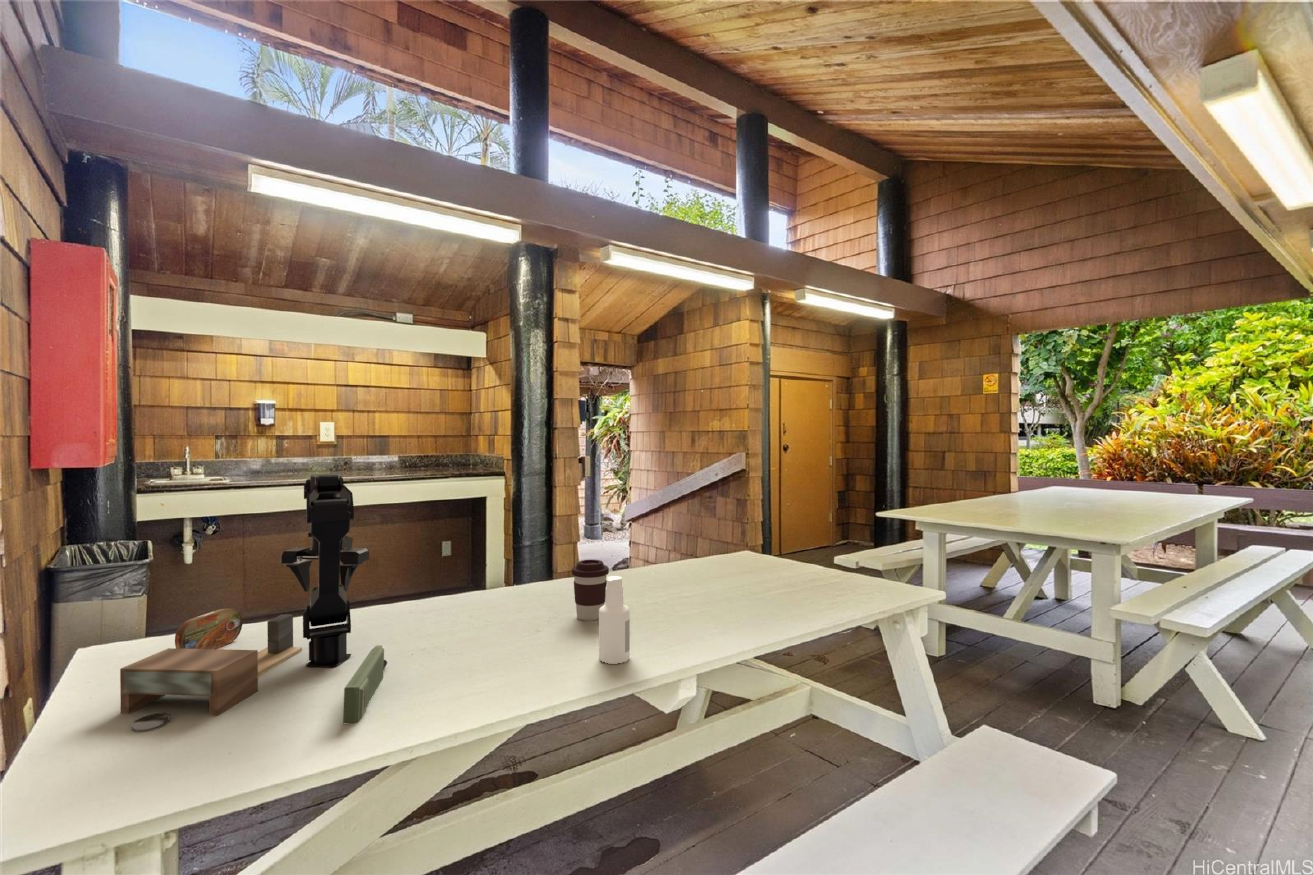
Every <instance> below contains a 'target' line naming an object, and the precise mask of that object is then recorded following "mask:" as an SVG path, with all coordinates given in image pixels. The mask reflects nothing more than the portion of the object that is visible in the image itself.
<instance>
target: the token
mask: <svg viewBox="0 0 1313 875" xmlns="http://www.w3.org/2000/svg"><path fill="white" fill-rule="evenodd" d="M170 717H171V716H170V714H169V713H167V712H158V713H157V712H156V713H151V714H147V715H145V716H141V717H138V719H135V720H134V721H133V722H131V731H132V732H133V733H134V732H135V733H145V732H150V731H154V730H157V729H160V728H162V727H165V726H166V725H168V724H169V723H170V722H171V720H170V719H171V718H170Z"/></svg>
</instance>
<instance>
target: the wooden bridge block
mask: <svg viewBox="0 0 1313 875" xmlns="http://www.w3.org/2000/svg"><path fill="white" fill-rule="evenodd" d="M258 652H259V650H258V649H227V648H226V649H225V648H223V649H219V648H218V649H178V648H176V647H175V648H173V647H172V648H171V647H170V648H169V647H168V648H165V649H164V650H161V651H159V652H156V653H153V654H152V655H150V656H147V657H145V658H143V659H140V660H138V661H135V662H133V663H131V664H128V665H126V666H123V667H121V668H119V669H120V672H119V673H120V674H119V676H120V678H119V680H120V682H119V684H120V685H119V686H120V687H119V688H120V695H119V696H120V714H131V713H132V711H133V712H135V711H137V710H138V709H140V708H142V707H144V706H147V705H149V704H151V702H154V701H156V700H159V699H160V698H163V697H164V696H194V697H196V696H199V697H201V696H202V697H203V696H204V697H209V699H208V700H209V701H208V702H209V716H214V717H218V716H220V715H221V714H223V713H225V712H226V711H228V710H230V709H231V708H233V707H235V706H236V705H238V704H239V703H241V702H242V701H244V700H246V699H247V698H249V697H251V696H253V695H254V694H256V693H257V692H259V682H258V681H259V676H258ZM134 710H135V711H134ZM130 712H131V713H130Z"/></svg>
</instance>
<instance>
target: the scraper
mask: <svg viewBox="0 0 1313 875" xmlns="http://www.w3.org/2000/svg"><path fill="white" fill-rule="evenodd" d="M266 624H267V626H266V627H267V647H265V648H263V649H262V650H260V651H259V650H258V677H260V676H262V675H263V674H265V673H267V672H268V671H270V670H272V669H274V668H275V667H277V666H278V665H280V664H282V663H284V662H286V661H287V660H289V659H291V658H292V657H294V656H296V655H298V654H299V653H301V652H302V651H303V647H298V646H297V647H295V646H294V614H286V613H285V614H279V615H278V616H276V617H274V618H272V619H270V620H267V623H266ZM285 660H286V661H285Z"/></svg>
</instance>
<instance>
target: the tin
mask: <svg viewBox="0 0 1313 875" xmlns="http://www.w3.org/2000/svg"><path fill="white" fill-rule="evenodd" d="M242 628H243V617H242V615H241V613H240V612H239V611H238V609H236V608H231V607H229V608H228V607H227V608H220V609H217V610H213V611H210V612H208V613H205V614H201V615H199V616H195V617H192V618H190V619H187V620H186V621H184V622H183V623H181V625H180V626H179V627H178V628H177V631H176V632H175V636H174V646H175V648H178V649H219V648H222V647H225V646H228V645H230V644H231V643H233V642H234V641H235V640H236V639H237V638H238V637H239V635H240V634H241V632H242Z"/></svg>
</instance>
